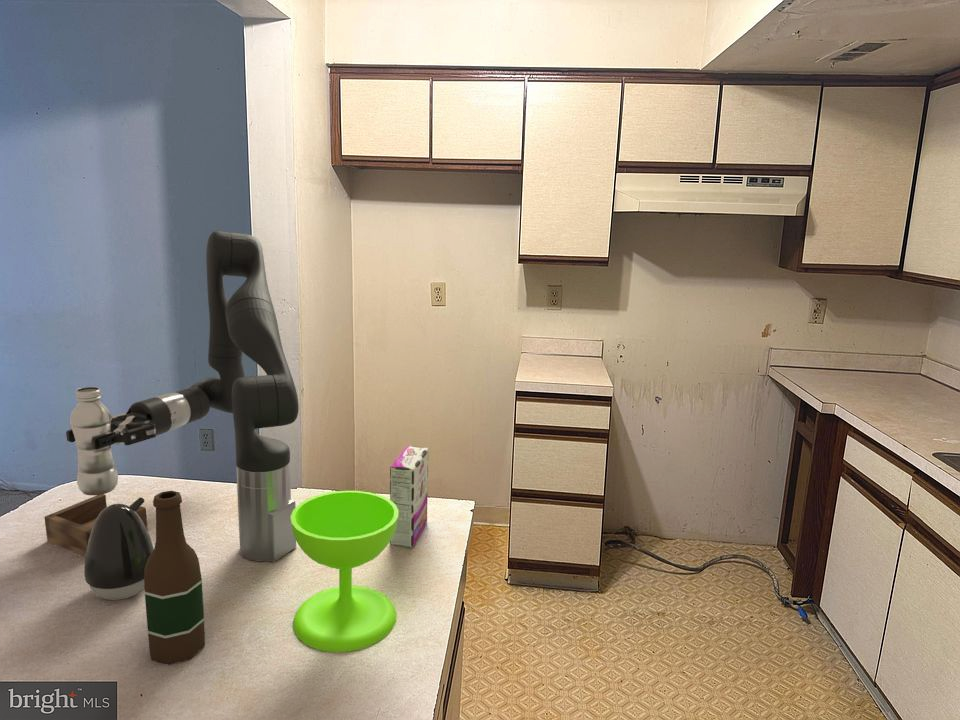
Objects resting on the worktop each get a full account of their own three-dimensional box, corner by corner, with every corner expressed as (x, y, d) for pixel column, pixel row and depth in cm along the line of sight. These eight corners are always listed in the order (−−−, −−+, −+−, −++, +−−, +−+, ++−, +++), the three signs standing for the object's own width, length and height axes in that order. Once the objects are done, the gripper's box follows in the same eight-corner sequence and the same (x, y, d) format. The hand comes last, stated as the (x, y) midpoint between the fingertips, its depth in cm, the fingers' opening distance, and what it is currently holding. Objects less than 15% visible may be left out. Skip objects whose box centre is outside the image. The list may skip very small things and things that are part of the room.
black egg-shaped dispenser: (172, 580, 109) (166, 497, 106) (121, 615, 100) (112, 526, 96) (126, 567, 113) (118, 486, 109) (71, 600, 103) (61, 512, 99)
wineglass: (309, 585, 110) (308, 487, 106) (403, 591, 110) (405, 493, 105) (278, 648, 94) (274, 536, 90) (387, 655, 94) (389, 543, 90)
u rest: (147, 531, 125) (145, 507, 123) (92, 558, 115) (90, 533, 113) (103, 516, 129) (101, 493, 128) (47, 541, 119) (44, 516, 118)
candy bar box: (404, 518, 135) (405, 444, 131) (427, 521, 134) (430, 447, 130) (387, 545, 124) (388, 465, 120) (413, 549, 123) (415, 468, 119)
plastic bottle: (101, 502, 117) (90, 396, 112) (69, 497, 118) (57, 392, 113) (127, 487, 123) (117, 386, 118) (96, 482, 125) (86, 382, 120)
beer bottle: (160, 630, 97) (149, 482, 91) (214, 630, 98) (206, 482, 92) (138, 667, 89) (124, 507, 84) (196, 666, 90) (186, 508, 84)
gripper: (133, 391, 133) (51, 413, 118) (184, 403, 127) (105, 428, 112) (136, 425, 135) (56, 452, 120) (187, 438, 129) (109, 468, 114)
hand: (80, 440), depth 116 cm, fingers closed on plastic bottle, 6 cm apart
